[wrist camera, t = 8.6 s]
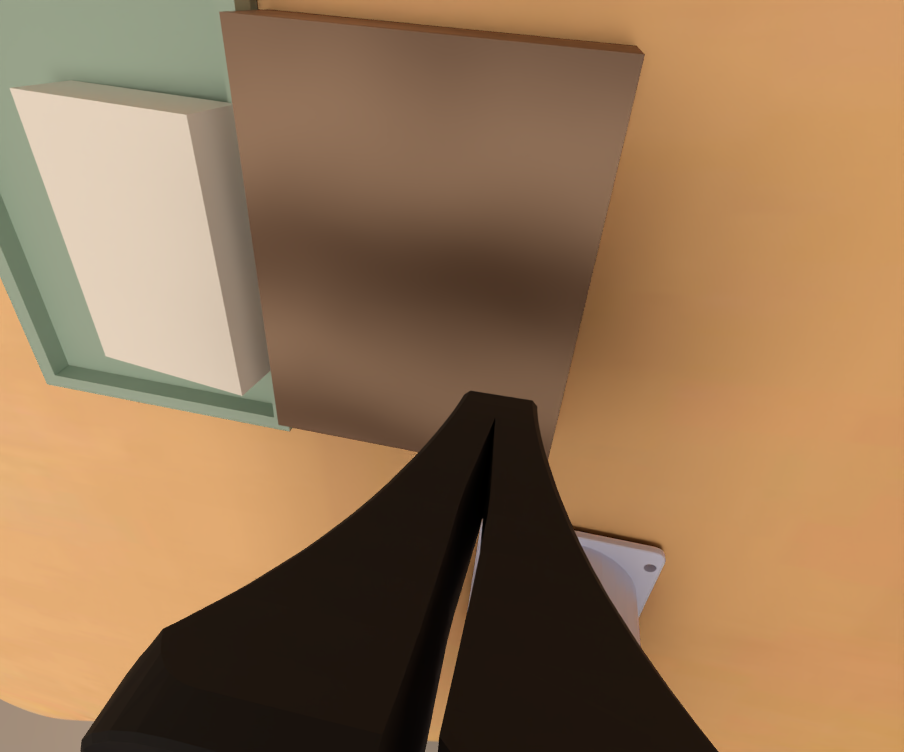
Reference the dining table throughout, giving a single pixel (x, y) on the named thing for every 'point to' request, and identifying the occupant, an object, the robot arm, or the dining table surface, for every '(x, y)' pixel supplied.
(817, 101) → the dining table surface
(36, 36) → the tray
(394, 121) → the deck
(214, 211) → the tile
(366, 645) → the robot arm
